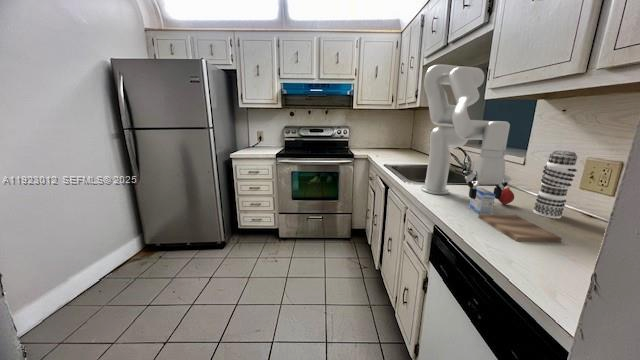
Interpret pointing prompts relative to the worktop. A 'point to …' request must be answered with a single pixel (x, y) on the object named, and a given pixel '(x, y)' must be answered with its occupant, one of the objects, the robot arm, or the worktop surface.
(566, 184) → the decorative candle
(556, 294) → the worktop surface
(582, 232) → the worktop surface
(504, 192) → the red oval piece
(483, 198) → the medicine box
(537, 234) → the cutting board
